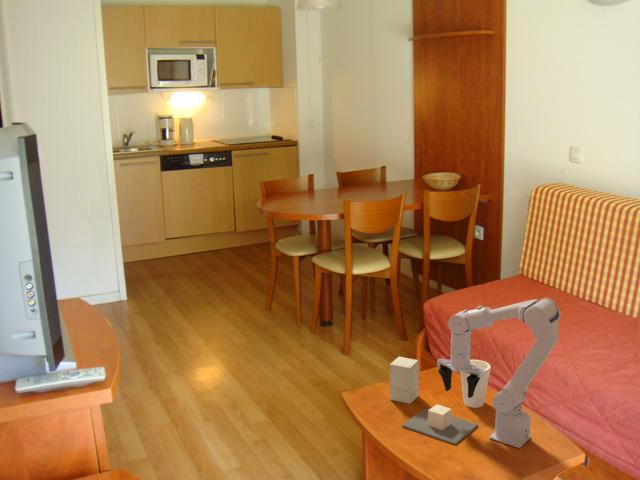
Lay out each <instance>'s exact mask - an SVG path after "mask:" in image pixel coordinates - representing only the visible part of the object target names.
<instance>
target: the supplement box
mask: <svg viewBox="0 0 640 480" xmlns="http://www.w3.org/2000/svg"><path fill="white" fill-rule="evenodd" d="M419 365H420V364H419V359H414V358H410V357H409V358H408V357H403V356H398V357H396V358H395V359H394V360H393V361H392V362H391V363H390V364H389V400H391V401H394V402H395V401H396V402H399V403H405V404H409V405H411V403H413V402H414V401H415V400H416V399H417V397H419V380H420V379H419V374H420V373H419V371H420V369H419Z"/></svg>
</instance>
